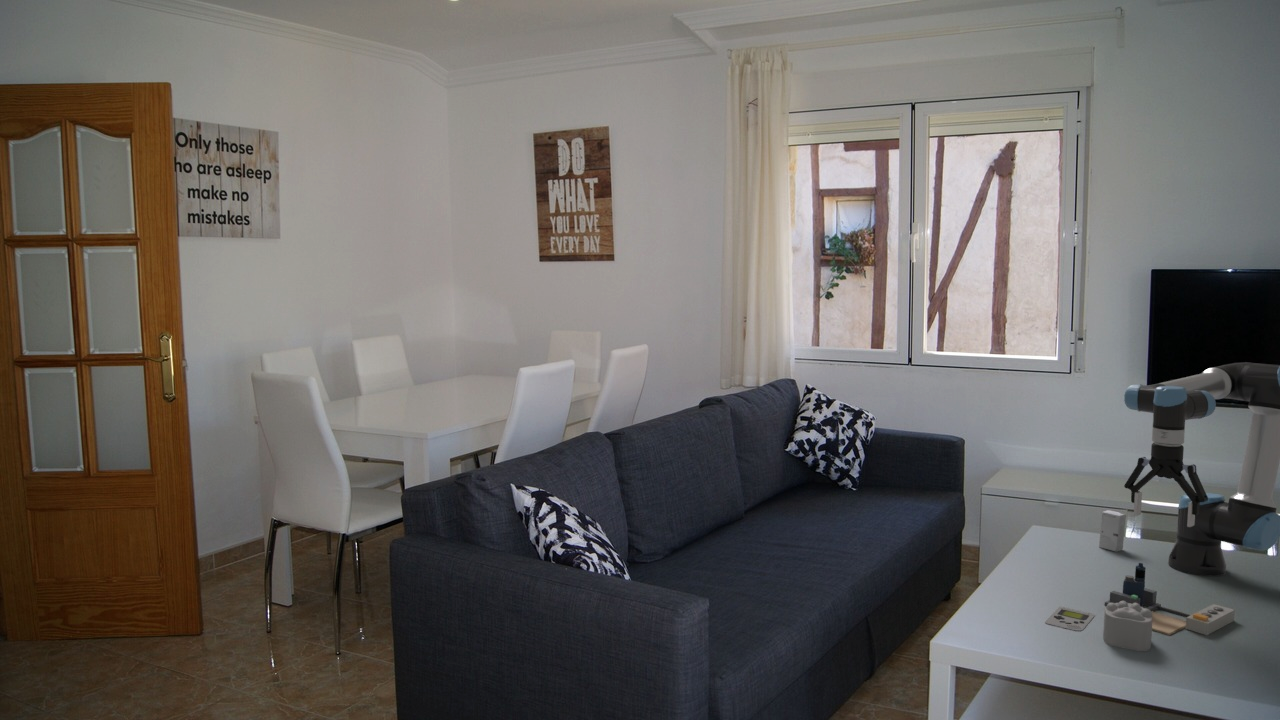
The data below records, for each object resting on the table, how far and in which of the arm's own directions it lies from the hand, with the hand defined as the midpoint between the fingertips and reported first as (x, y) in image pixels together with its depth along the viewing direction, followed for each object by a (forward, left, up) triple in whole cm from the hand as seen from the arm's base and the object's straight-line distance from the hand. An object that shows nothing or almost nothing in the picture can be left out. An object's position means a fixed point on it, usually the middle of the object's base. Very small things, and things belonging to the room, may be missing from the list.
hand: (1163, 520), depth 245 cm
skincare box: (-39, -32, -23) cm, 55 cm away
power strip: (+5, +15, -23) cm, 28 cm away
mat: (+15, +6, -23) cm, 28 cm away
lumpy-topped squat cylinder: (+32, +7, -24) cm, 41 cm away
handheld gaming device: (+31, -8, -24) cm, 40 cm away
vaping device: (+8, -3, -23) cm, 25 cm away
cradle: (+8, +3, -23) cm, 25 cm away
